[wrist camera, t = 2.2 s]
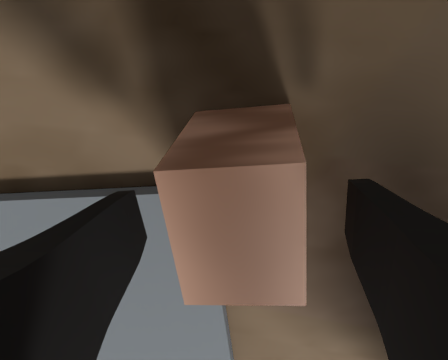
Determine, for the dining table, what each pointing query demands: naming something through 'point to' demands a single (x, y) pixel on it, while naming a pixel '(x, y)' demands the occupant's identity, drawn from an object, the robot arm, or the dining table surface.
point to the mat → (139, 285)
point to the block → (237, 207)
